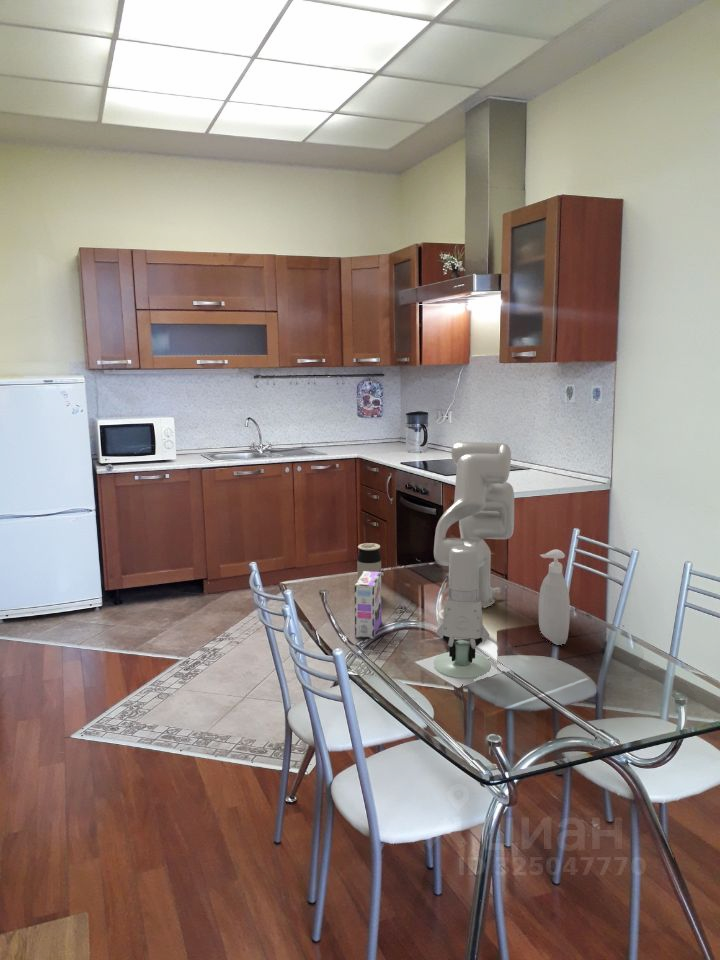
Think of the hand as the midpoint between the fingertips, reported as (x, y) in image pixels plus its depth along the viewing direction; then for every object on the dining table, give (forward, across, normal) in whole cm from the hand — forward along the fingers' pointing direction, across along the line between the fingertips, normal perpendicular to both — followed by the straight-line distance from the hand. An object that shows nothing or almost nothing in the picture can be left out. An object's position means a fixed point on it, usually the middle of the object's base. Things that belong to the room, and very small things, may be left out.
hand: (462, 659), depth 195 cm
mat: (+2, 0, 0) cm, 2 cm away
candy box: (+3, -30, +21) cm, 37 cm away
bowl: (+2, -3, +23) cm, 23 cm away
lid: (+2, 0, 0) cm, 2 cm away
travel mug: (+3, -35, +50) cm, 61 cm away
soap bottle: (+3, +23, +23) cm, 33 cm away
